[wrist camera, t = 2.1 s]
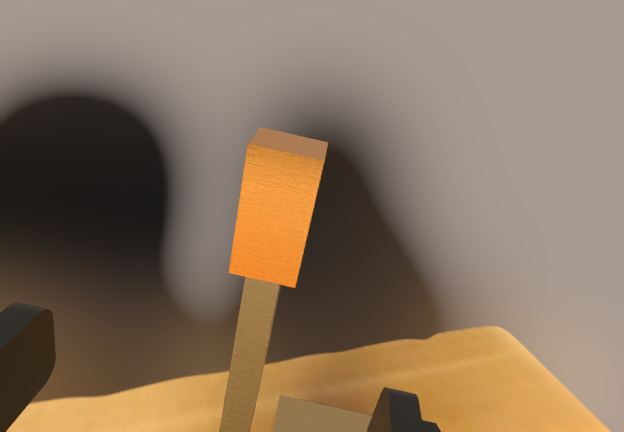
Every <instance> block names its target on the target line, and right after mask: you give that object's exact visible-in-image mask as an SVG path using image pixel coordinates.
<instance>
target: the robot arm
mask: <svg viewBox="0 0 624 432" xmlns="http://www.w3.org/2000/svg"><path fill="white" fill-rule="evenodd" d="M55 359H56V354H55V340H54V325H53V314H52V312H51V311H50V310H48V309H44V308H39V307H35V306H30V305H26V304H22V303H13V304H11V305H9V306H8V307H7V308H6V309H5V310H3V311H2V312H1V313H0V432H6V431H7V429H8V428H9V427H10V426H11V425H12V423H13V422H14V421H15V420H16V419H17V417H18V416H19V415H20V414H21V413H22V411H23V410H24V409H25V408H26V407H27V405H28V404H29V403H30V402H31V401H32V399H33V398H34V397H35V396H36V395H37V393H38V392H39V391H40V390H41V389H42V387H43V386H44V385H45V384H46V382H47V381H48V379H49V377H50V375H51V373H52V370H53V368H54V365H55ZM367 432H441V431H440V429H439V428H438V426H437V424H436V423H432V422H428V421H423V420H422V419H421V412H420V406H419V400H418V397H417V395H416V394H412V393H408V392H404V391H399V390H395V389H390V388H386V387H385V388H384V389H383V390H382V392H381V395H380V397H379V400H378V403H377V405H376V408H375V410H374V413H373V415H372V418H371V421H370V423H369V426H368V428H367Z"/></svg>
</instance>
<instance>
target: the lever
mask: <svg viewBox="0 0 624 432" xmlns="http://www.w3.org/2000/svg"><path fill="white" fill-rule="evenodd" d="M327 145H328V142H324V141H319V140H315V139H310V138H306V137H301V136H297V135H293V134H288V133H284V132H280V131H275V130H271V129H266V128H262V127H261V128H260V129H259V130H258V131H257V133H256V134H255V135H254V137H253V138H252V139H251V140H250V141H249V143H248V146H247V152H246V159H245V166H244V173H243V180H242V186H241V193H240V200H239V207H238V213H237V220H236V228H235V234H234V241H233V247H232V254H231V262H230V268H229V273H231V274H236V275H240V276H245V282H244V288H243V295H242V300H241V306H240V312H239V318H238V324H237V330H236V336H235V342H234V348H233V354H232V359H231V366H230V371H229V377H228V383H227V389H226V395H225V401H224V407H223V413H222V419H221V425H220V431H219V432H250V429H251V424H252V420H253V415H254V410H255V405H256V401H257V396H258V391H259V387H260V382H261V377H262V372H263V368H264V363H265V358H266V354H267V349H268V344H269V339H270V335H271V330H272V325H273V321H274V316H275V311H276V307H277V302H278V297H279V293H280V288H281V285H285V286H289V287H294V288H295V286H296V282H297V278H298V273H299V269H300V265H301V260H302V256H303V251H304V247H305V243H306V239H307V234H308V230H309V226H310V221H311V217H312V212H313V208H314V204H315V200H316V195H317V191H318V186H319V182H320V178H321V173H322V169H323V165H324V161H325V156H326V150H327Z"/></svg>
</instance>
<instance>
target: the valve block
mask: <svg viewBox="0 0 624 432" xmlns="http://www.w3.org/2000/svg"><path fill="white" fill-rule="evenodd" d="M371 418H372V415H367V414H363V413H358V412H354V411H349V410H345V409H340V408H336V407H331V406H328V405H324V404H320V403H313V402H309V401H304V400H300V399H295V398H291V397H286V396H282V395H280V398H279V402H278V406H277V410H276V414H275V418H274V422H273V426H272V431H271V432H367V428H368V426H369V423H370V421H371Z"/></svg>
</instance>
